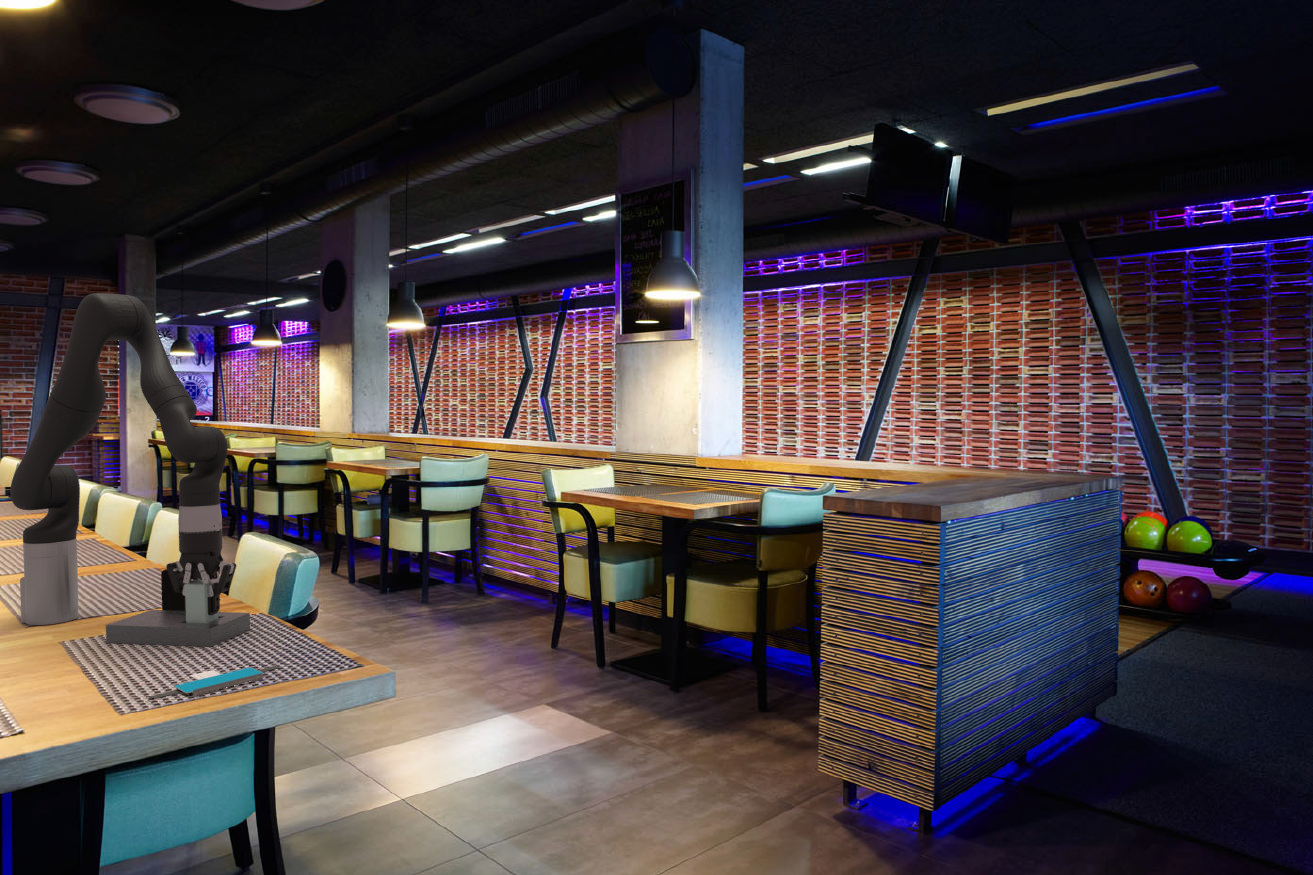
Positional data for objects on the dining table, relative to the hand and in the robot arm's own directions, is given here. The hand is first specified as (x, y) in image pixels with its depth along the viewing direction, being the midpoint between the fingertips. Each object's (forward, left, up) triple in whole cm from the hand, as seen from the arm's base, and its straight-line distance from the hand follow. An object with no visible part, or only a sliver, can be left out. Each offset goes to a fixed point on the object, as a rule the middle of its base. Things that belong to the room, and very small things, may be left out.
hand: (202, 613), depth 163 cm
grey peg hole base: (-5, 0, -5) cm, 7 cm away
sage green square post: (0, 0, -4) cm, 4 cm away
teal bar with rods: (+20, -24, -6) cm, 32 cm away
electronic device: (-16, +17, -5) cm, 24 cm away
